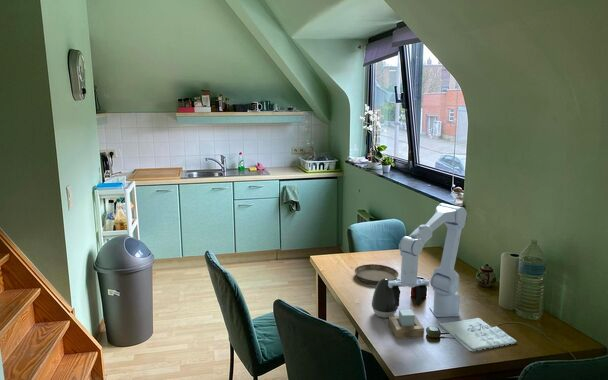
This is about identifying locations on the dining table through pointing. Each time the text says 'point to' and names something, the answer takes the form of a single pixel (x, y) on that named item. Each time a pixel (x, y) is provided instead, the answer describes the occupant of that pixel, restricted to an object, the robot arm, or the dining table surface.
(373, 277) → the plant saucer
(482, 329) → the paper napkin stack
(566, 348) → the dining table surface
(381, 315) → the dark grey egg shape
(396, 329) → the square wooden tray
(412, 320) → the blue block
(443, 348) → the dining table surface
